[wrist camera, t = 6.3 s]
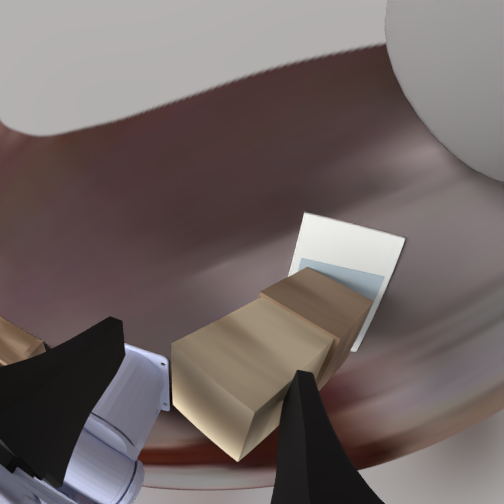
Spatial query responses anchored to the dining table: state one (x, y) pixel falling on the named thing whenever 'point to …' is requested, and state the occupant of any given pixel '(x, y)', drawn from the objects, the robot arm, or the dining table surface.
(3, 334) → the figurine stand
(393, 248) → the white flat plate
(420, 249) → the dining table surface
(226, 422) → the maple block
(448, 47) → the jar
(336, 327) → the walnut block
